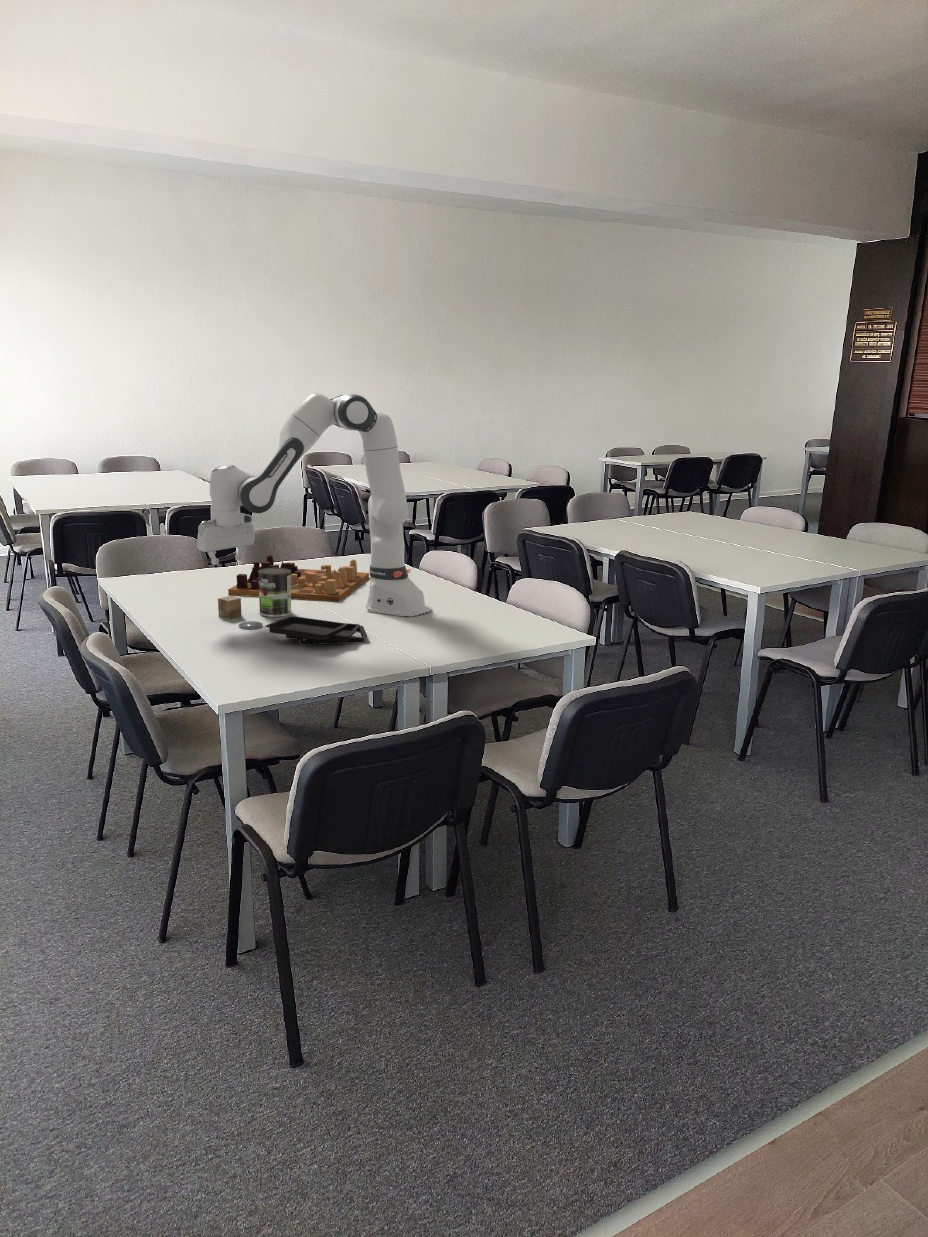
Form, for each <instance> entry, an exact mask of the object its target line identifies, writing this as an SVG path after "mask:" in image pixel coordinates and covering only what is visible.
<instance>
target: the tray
mask: <svg viewBox="0 0 928 1237" xmlns="http://www.w3.org/2000/svg"><path fill="white" fill-rule="evenodd" d="M265 628H268V629H269V630H268V632H269V633H271V634H277V635H278V634H279V635H282V636H285V638H286V639H293V640H294V639H295V640H297V641H299V644H300V645H303V646H307V645H312V646H313V645H330V644H331V645H334V644H356V643H358V644H359V643H364V642H365V639H366V638H368V637H369V636H368V634H367V632H366V629H365V626H363V625H361V624H360V623H349V622H348V623H347V622H346V623H345V622H340V621H339V622H338V621H330V620H324V619H323V620H322V619H316V618H310V617H309V618H308V617H303V616H295V615H287V616H284V617H283V618H280V619H277V620H276V621H275V620H274V621H273V622H271V623H269V624H266V625H265ZM357 632H359V633H360V635H361V636H360V637H353V636H354V635H355V633H357Z"/></svg>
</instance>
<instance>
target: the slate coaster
mask: <svg viewBox="0 0 928 1237" xmlns="http://www.w3.org/2000/svg"><path fill="white" fill-rule="evenodd" d="M262 627H263V622H260V621H254V620H253V621H251V620H250V621H243V622H240V623H239V624H238V628H239V629H242V630H257V629H261V628H262Z"/></svg>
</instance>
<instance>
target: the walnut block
mask: <svg viewBox="0 0 928 1237" xmlns="http://www.w3.org/2000/svg"><path fill="white" fill-rule="evenodd" d="M217 605H218V606H217V609H218V611H217V612H218V617H219V618H223V619H226V620H232V619H236V618H239V617H242V616H243V615H242V598H241V597H238V596H235V595H227V596H223V597H219V598H217Z"/></svg>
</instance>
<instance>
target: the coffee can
mask: <svg viewBox="0 0 928 1237" xmlns="http://www.w3.org/2000/svg"><path fill="white" fill-rule="evenodd" d="M290 573H291V570H289V569H286V568H280V567H279V568H264V569H260V570H258V574H259V597H258V598H259V600H258V602H259V613H258V614H259V615H260V616H263V617H266V616H267V618H268V617H269V618H281V617H282V616H283V617H288V616H291V614H292V599H291V576H290Z"/></svg>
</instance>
